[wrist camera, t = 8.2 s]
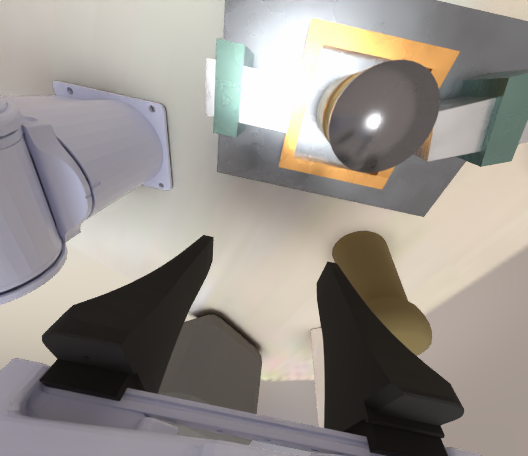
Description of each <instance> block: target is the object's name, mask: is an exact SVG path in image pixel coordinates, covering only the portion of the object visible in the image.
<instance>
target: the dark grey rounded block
mask: <svg viewBox="0 0 528 456" xmlns="http://www.w3.org/2000/svg"><path fill="white" fill-rule="evenodd" d="M261 367H262V360H261V355H260V353H259V352H258V350H257V349H256V348H255V347H254V346H253V345H252V344H251V343H250V342H249V341H247V340H246V339H245V338H244V337H243V336H242V335H240V334H239V333H238V332H237V331H236V330H235V329H233V328H232V327H231V326H230V325H229V324H228V323H226V322H225V321H224V320H223V319H222V318H221V317H219V316H216V315H211V314H208V315H205V316H202V317H199V318H196V319H193V320H190V321H186V322H184V324H183V326H182V329H181V331H180V334H179V336H178V339H177V342H176V344H175V347H174V349H173V352H172V355H171V358H170V360H169V363H168V366H167V369H166V371H165V374H164V377H163V380H162V383H161V386H160V389H159V392H158V394H160V395H165V396H170V397H175V398H179V399H184V400H189V401H194V402H199V403H204V404H209V405H214V406H219V407H223V408H228V409H233V410H238V411H243V412H248V413H253V414H257V403H258V394H259V386H260V376H261ZM169 424H171V423H169ZM171 425H174V426H177V427H178V433H177V434H178V435H180V436H188V437H196V438H203V439H211V440H221V441H227V442H233V443H238V444H243V445H249V444H250V442H251V441H252V440H250V439H245V438H240V437H235V436H230V435H225V434H221V433H216V432H211V431H206V430H201V429H196V428H191V427H186V426H181V425H176V424H171Z"/></svg>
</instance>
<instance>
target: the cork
mask: <svg viewBox="0 0 528 456" xmlns="http://www.w3.org/2000/svg"><path fill="white" fill-rule="evenodd" d="M332 256H333V259H334V261H335V263H337V264H338V265H339V267H340V268H341V270H342V271H343V273H344V274H345V276H346V277H347V279H348V280H349V281H350V283H351V284H352V286H353V287H354V289H355V290H356V291H357V293H358V294H359V296H360V297H361V298H362V300H363V301H364V302H365V303H366V305H367V306H368V307H369V308H370V310H371V311H372V312H373V313H374V314H375V315H376V317H377V318H378V319H379V320H380V321H381V322H382V323H383V324H384V325H385V326H386V328H387V329H388V330H389V331H390V332H391V333H392V334H393V335H394V336H395V337H396V338H397V339H398V340H399V341H400V342H402V343H403V344H404V345H405V346H406V347H407V348H408V349H409V350H410V351H411V352H412V353H414V354H415V355H416V356H417V355H419V354H421V353H422V352H424V351H425V350H427V349H428V348H429V346H430V345H431V341H432V331H431V327H430V324H429V322H428V320H427V319H426V317H425V316H424V314H423V313H422V312H421V311H420V310H419V309H418V308H417V307H416V306H415V305H414V304H412V303H410V302H408V300H407V297H406V295H405V292H404V289H403V287H402V284H401V281H400V278H399V276H398V273H397V270H396V268H395V265H394V262H393V260H392V257H391V254H390V252H389V249H388V246H387V244H386V242H385V240H384V239H383V238H382V237H381V236H380V235H378V234H376V233H373V232H368V231H359V232H354V233H351V234H348V235H346V236H344V237H343V238H341V239H340V240H339V241H338V242H337V243H336V244H335V246H334V248H333V252H332Z"/></svg>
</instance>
